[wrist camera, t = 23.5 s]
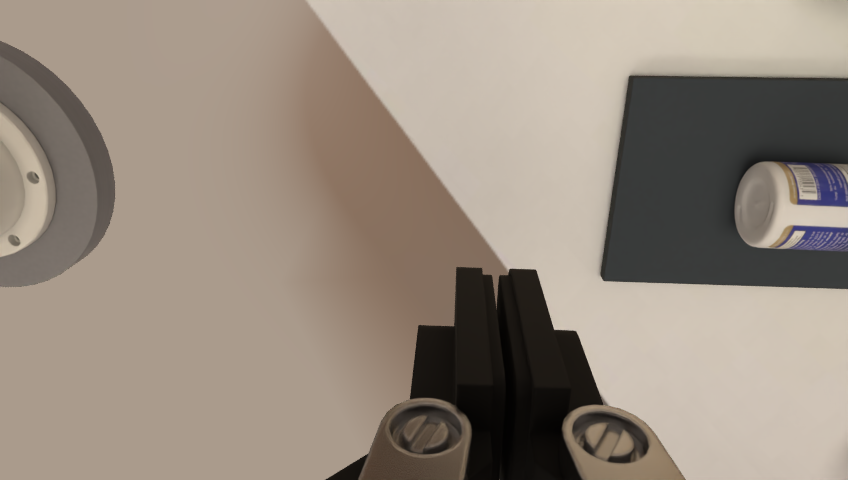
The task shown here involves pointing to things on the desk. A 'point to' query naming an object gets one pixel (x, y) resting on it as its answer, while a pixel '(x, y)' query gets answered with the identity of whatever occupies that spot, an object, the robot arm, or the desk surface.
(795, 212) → the pill bottle
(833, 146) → the mat
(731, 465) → the desk surface
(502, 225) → the desk surface
